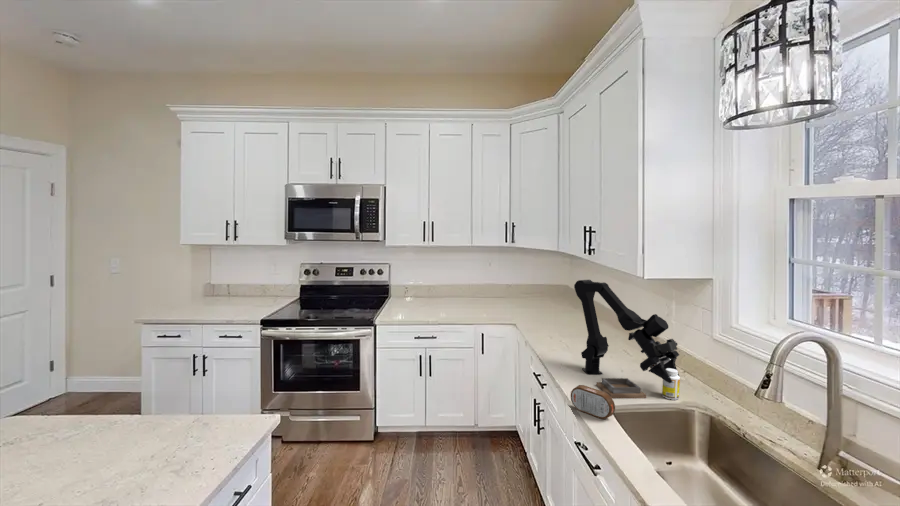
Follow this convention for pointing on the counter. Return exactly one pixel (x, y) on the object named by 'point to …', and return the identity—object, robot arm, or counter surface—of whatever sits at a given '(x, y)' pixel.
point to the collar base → (620, 388)
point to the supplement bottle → (671, 385)
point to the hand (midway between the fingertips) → (675, 380)
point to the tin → (592, 401)
